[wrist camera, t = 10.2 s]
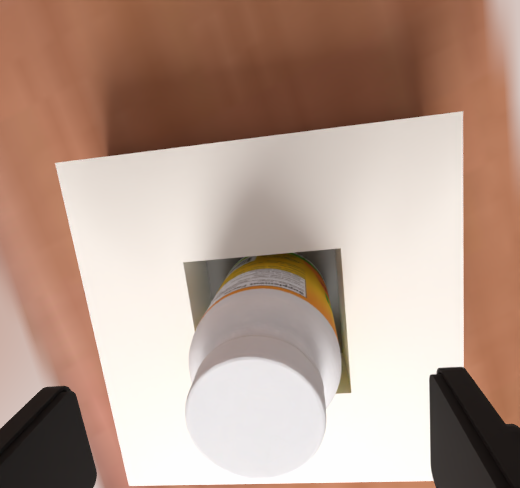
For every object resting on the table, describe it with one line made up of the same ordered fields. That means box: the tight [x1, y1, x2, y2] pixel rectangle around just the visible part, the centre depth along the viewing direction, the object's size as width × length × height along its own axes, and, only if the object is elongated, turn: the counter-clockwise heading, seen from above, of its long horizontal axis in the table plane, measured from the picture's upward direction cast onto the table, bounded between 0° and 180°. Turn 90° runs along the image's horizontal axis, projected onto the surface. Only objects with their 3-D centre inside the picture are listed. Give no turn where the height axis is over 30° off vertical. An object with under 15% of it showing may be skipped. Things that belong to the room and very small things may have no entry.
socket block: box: [55, 111, 464, 486], centre depth 19 cm, size 16×16×4 cm
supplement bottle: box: [185, 252, 341, 480], centre depth 15 cm, size 5×5×10 cm
